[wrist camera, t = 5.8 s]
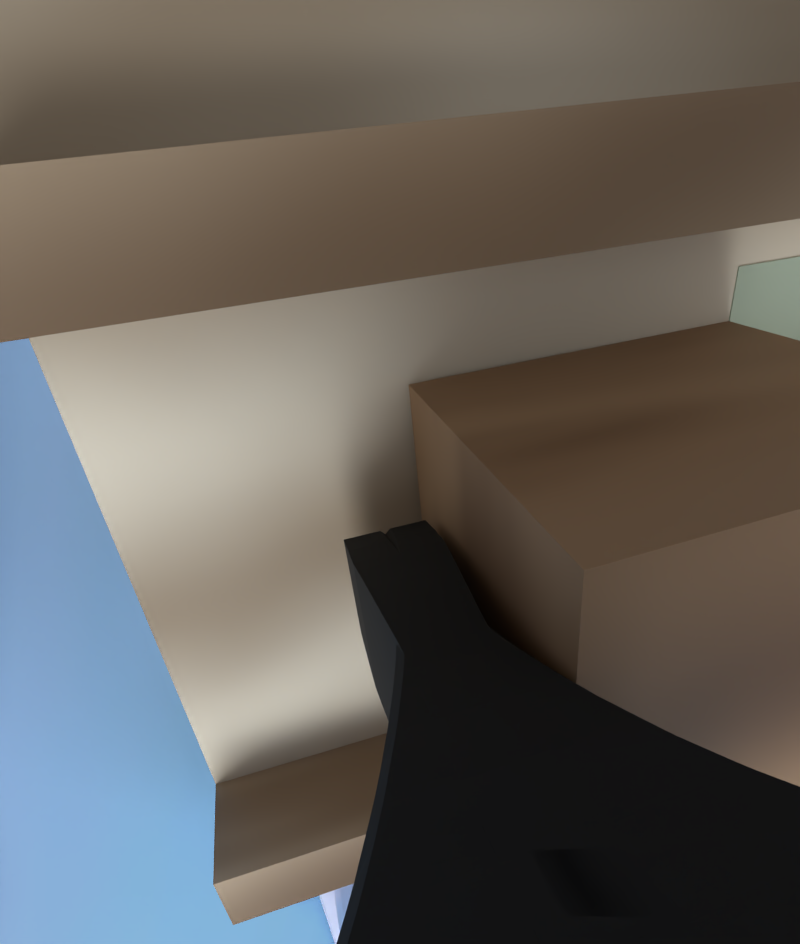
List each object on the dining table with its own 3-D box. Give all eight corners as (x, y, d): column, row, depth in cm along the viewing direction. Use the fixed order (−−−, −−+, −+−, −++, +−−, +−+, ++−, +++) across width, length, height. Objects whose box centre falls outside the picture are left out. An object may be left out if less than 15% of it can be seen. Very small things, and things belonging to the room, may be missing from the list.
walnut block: (682, 582, 13) (909, 778, 9) (435, 657, 12) (559, 925, 8) (728, 321, 10) (1101, 423, 6) (408, 384, 9) (583, 569, 5)
